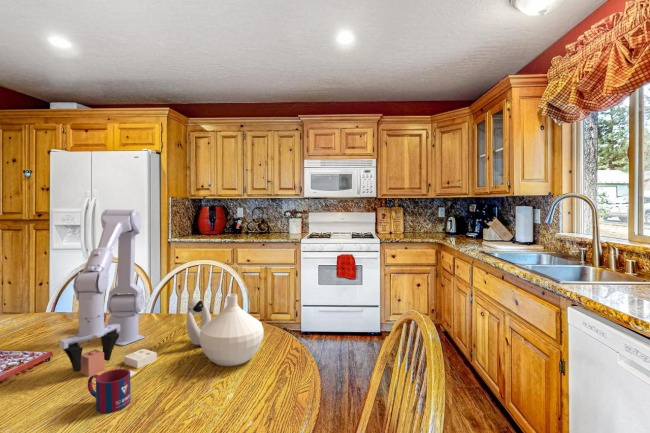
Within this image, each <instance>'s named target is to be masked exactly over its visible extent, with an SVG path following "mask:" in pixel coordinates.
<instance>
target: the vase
mask: <svg viewBox="0 0 650 433" xmlns="http://www.w3.org/2000/svg"><path fill="white" fill-rule="evenodd" d="M226 299H227V300H226V306H225V307H224V308H223V309H222V310H221V311H220V312H219V313H218V314H217V315H216V316H215V317H213V318H211V320H210V321H209V322H208V323H207V324H205V325H204V326H203V327H202V329H201V332H200V345H201V346H200V347H201V350H202V351H203V353H204V355H205V356H206V357H207V358H208V359H209V360H210V361H211V362H213V363H214V364H216V365H217V366H221V367H236V366H240V365H243V364H245V363H246V362H249V360H251V359H253V357H254V356H255V355H256V354H257V352H258V351H259V349H260V346H261V344H262V342H263V339H264V333H265V332H264V327H263V324H262V322H261V321H260V320H258V319H257V318H255V317H254V316H252V315H251V314H249V313H247V312H246V311H245V310H243V309H242V308H241V307H240V306H239V304H238V294H237V293H229V294H227V295H226Z"/></svg>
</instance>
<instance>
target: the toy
mask: <svg viewBox="0 0 650 433" xmlns="http://www.w3.org/2000/svg"><path fill="white" fill-rule="evenodd" d="M187 310H188V314H187V318H186V331H187V334H188V335H187V336H188V338H189V340H190V341H191V343H192V344H193V345H195V346H198V347H201V345H200V332H201V329H202V327H203V326H204V325H205V324H207V323H208V322H209V321H210V320H212V316H211V313H210V311H209V308H208V306H207V305H206V304H204V302H203V301H202V299H200V298H196V297H195V298H193V299H191V300H190V301H189V302H188V305H187ZM198 314H201V320H200V325H199V326H198V324H197V321H196V320H195V317H194V315H198Z"/></svg>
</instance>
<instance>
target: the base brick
mask: <svg viewBox="0 0 650 433" xmlns="http://www.w3.org/2000/svg"><path fill="white" fill-rule="evenodd" d="M123 359H124V361H123V364H124V365H127V366H129V367H133V368H136V369H139V368H141V367H145V366H146V365H149V364H151V363H153V362H155V361H157V360H158V353H157V352H156V351H152V350H150V349H146V348H142V349H139V350H137V351H134V352H132V353H129V354H126V355H124V357H123Z"/></svg>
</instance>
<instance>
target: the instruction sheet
mask: <svg viewBox="0 0 650 433" xmlns="http://www.w3.org/2000/svg"><path fill="white" fill-rule="evenodd" d="M129 371H130V378H131V377H132V376H134V375H136V374H137V373H138V371H133V370H129ZM93 384H94V385H96V381H95V382H93Z"/></svg>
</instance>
